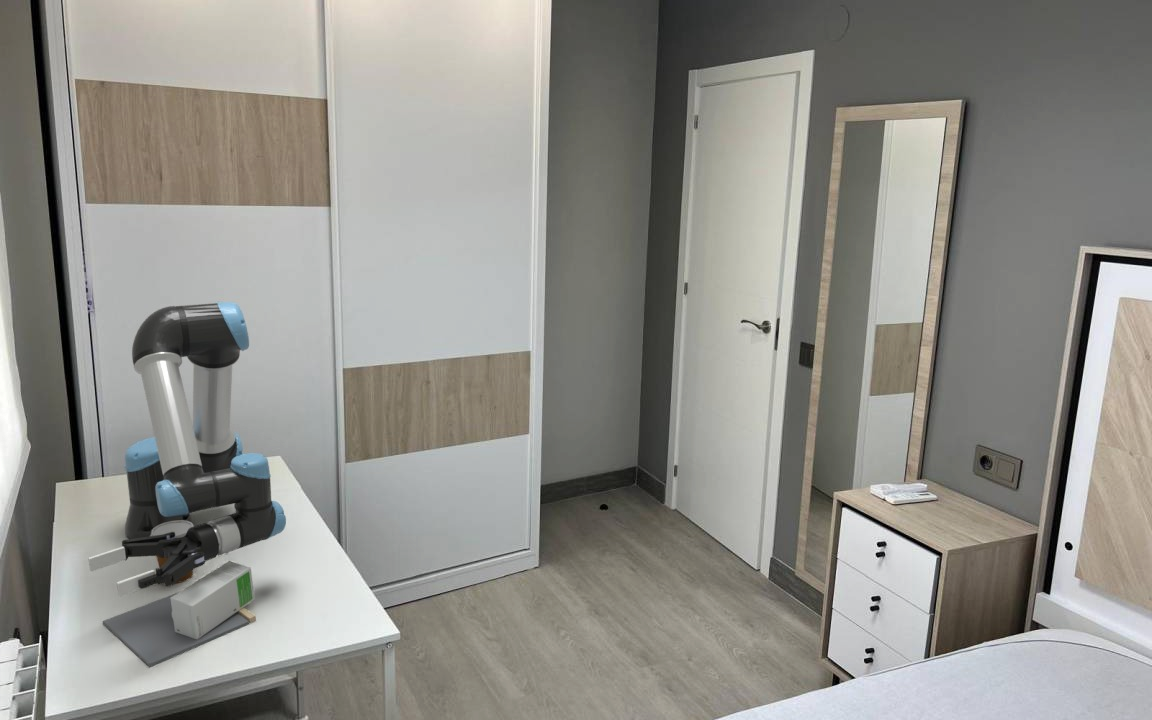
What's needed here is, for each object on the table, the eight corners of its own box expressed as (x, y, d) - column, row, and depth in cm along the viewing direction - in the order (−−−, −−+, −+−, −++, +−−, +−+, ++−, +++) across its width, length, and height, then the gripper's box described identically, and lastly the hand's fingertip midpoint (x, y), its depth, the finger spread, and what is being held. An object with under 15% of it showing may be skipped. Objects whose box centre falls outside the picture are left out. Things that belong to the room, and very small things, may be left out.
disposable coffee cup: (155, 591, 184) (149, 541, 181) (154, 571, 193) (148, 524, 190) (202, 581, 189) (197, 533, 186) (199, 563, 197) (194, 516, 194)
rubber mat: (103, 623, 172) (102, 618, 171) (205, 584, 187) (204, 579, 187) (149, 667, 158) (149, 661, 157) (256, 620, 174) (255, 615, 173)
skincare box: (255, 599, 179) (198, 642, 166) (232, 591, 182) (174, 633, 168) (251, 565, 176) (192, 606, 163) (227, 558, 179) (167, 598, 165)
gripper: (243, 576, 168) (133, 619, 152) (185, 536, 183) (80, 571, 168) (240, 542, 166) (129, 582, 150) (182, 505, 181) (76, 538, 166)
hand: (103, 576), depth 159 cm, fingers open, 13 cm apart
